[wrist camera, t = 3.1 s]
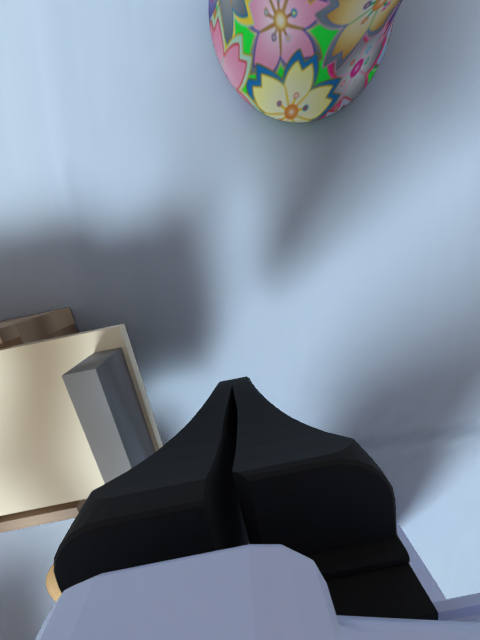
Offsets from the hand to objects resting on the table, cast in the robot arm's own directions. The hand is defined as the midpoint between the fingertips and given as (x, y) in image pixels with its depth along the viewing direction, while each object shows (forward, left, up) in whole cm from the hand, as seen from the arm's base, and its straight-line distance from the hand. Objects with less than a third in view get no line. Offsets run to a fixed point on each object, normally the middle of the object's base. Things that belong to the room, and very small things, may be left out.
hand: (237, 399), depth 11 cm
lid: (+9, 0, -1) cm, 9 cm away
